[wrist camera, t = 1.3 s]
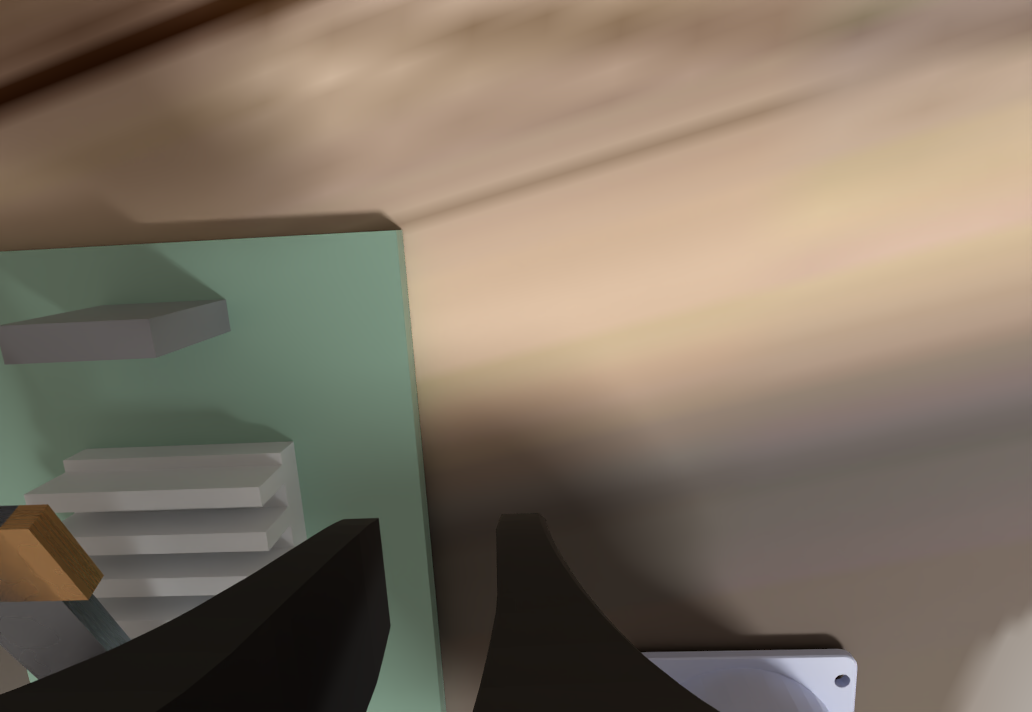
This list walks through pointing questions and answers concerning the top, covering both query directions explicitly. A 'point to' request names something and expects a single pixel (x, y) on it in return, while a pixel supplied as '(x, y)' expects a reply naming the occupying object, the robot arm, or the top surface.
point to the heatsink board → (222, 420)
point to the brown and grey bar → (49, 594)
